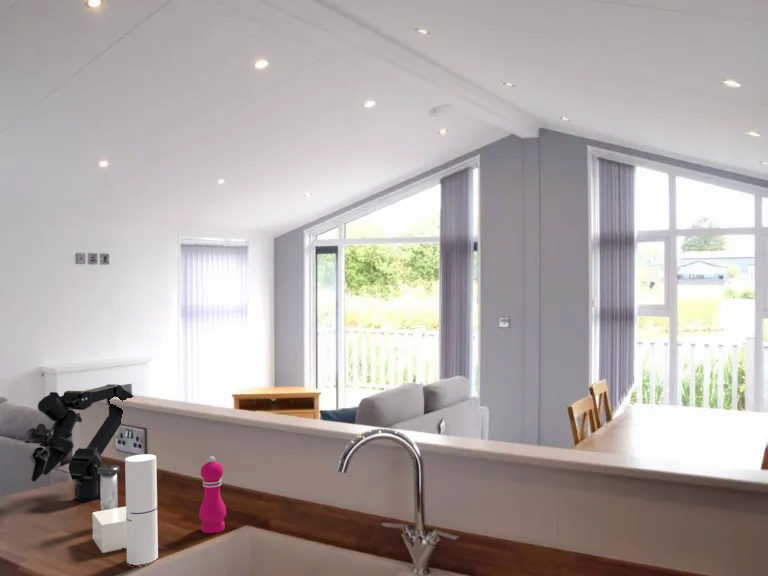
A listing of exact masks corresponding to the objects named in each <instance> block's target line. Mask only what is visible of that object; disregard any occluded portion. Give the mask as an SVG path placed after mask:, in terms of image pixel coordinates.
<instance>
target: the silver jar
mask: <svg viewBox="0 0 768 576" xmlns="http://www.w3.org/2000/svg"><path fill="white" fill-rule="evenodd" d="M118 472H120V466H119V465H103V466H101V467H100V468H98V474H100V495H101V498H100V511H103V510H109V509H114V508H119V507H118V505H119V504H118V501H119V499H118Z"/></svg>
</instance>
